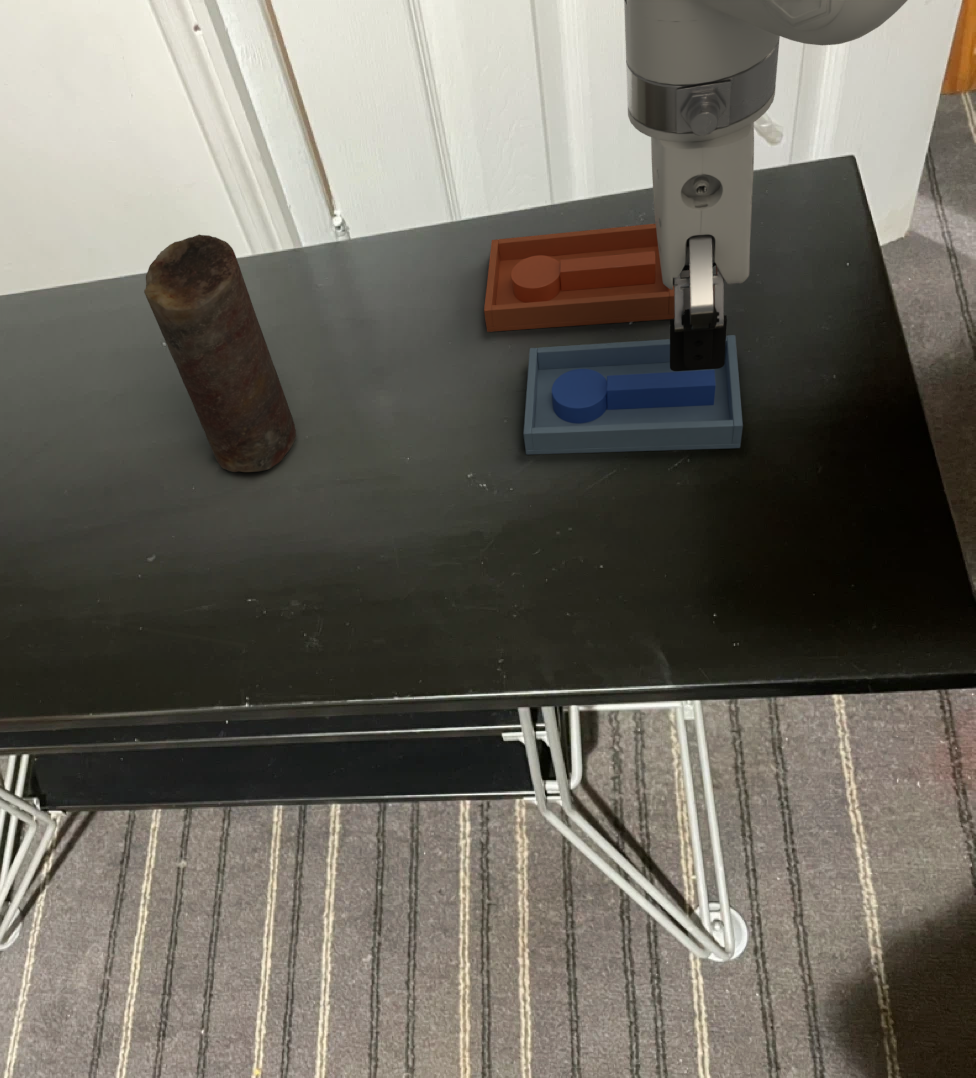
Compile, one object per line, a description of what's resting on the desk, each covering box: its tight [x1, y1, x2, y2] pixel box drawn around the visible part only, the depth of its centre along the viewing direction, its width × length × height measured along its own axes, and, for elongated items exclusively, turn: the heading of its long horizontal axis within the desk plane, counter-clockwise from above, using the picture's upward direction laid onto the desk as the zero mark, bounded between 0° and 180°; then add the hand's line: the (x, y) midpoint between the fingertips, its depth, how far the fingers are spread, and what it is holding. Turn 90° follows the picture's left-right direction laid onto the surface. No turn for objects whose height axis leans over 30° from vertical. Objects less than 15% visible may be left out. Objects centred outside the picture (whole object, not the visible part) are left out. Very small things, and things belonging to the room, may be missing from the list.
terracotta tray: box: [483, 223, 674, 333], centre depth 89 cm, size 15×9×2 cm, turn 78°
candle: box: [143, 233, 297, 473], centre depth 82 cm, size 8×7×20 cm
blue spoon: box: [552, 369, 716, 423], centre depth 79 cm, size 12×4×2 cm, turn 79°
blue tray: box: [523, 334, 744, 456], centre depth 80 cm, size 15×9×2 cm, turn 78°
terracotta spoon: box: [511, 251, 656, 303], centre depth 88 cm, size 12×4×2 cm, turn 78°
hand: (694, 314), depth 69 cm, fingers open, 9 cm apart
